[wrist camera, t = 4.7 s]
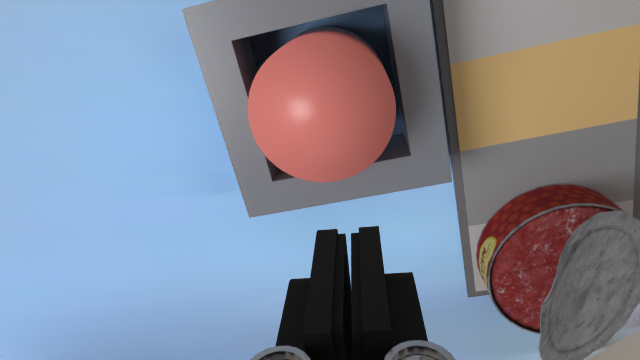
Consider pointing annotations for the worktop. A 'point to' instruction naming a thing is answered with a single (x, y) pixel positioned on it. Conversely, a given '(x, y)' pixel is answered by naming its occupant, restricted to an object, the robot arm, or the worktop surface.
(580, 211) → the canned food
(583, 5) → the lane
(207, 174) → the worktop surface
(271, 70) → the dome button
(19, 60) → the worktop surface
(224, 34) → the dome housing
